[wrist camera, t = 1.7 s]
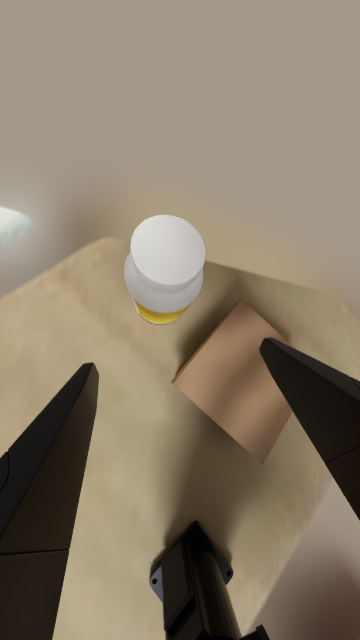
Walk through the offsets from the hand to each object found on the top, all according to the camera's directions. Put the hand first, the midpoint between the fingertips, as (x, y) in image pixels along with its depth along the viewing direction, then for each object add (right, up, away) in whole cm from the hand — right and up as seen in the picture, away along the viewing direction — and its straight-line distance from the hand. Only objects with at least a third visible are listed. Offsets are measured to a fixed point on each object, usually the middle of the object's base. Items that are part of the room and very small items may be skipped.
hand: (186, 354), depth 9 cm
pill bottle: (-3, +4, +13) cm, 14 cm away
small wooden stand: (+7, -5, +13) cm, 15 cm away
